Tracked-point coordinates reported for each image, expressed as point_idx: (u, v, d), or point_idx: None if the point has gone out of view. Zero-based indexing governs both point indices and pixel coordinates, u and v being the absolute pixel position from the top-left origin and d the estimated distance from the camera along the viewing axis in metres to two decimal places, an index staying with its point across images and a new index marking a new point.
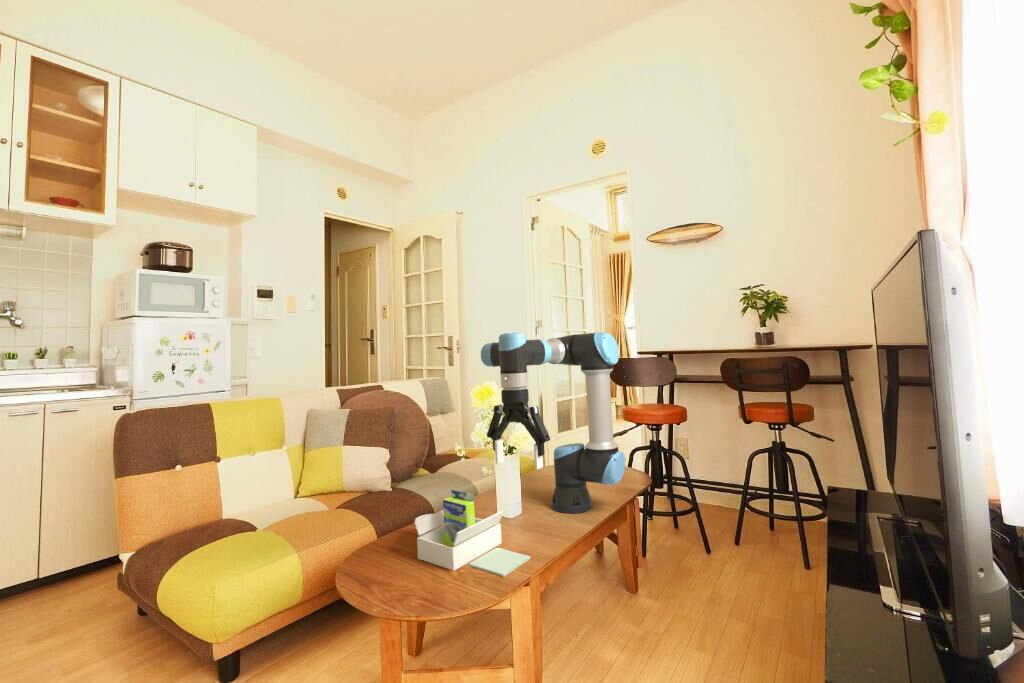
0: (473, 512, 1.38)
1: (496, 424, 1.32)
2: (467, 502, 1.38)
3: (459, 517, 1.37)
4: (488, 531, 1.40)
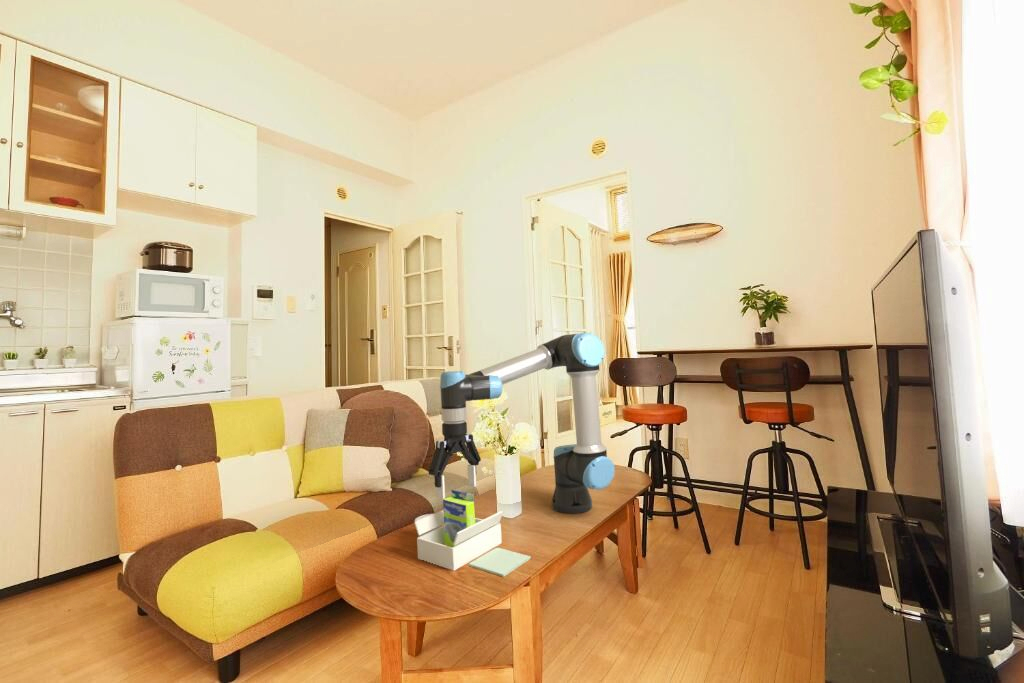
0: (473, 512, 1.38)
1: (472, 451, 1.47)
2: (467, 502, 1.38)
3: (459, 517, 1.38)
4: (488, 531, 1.40)
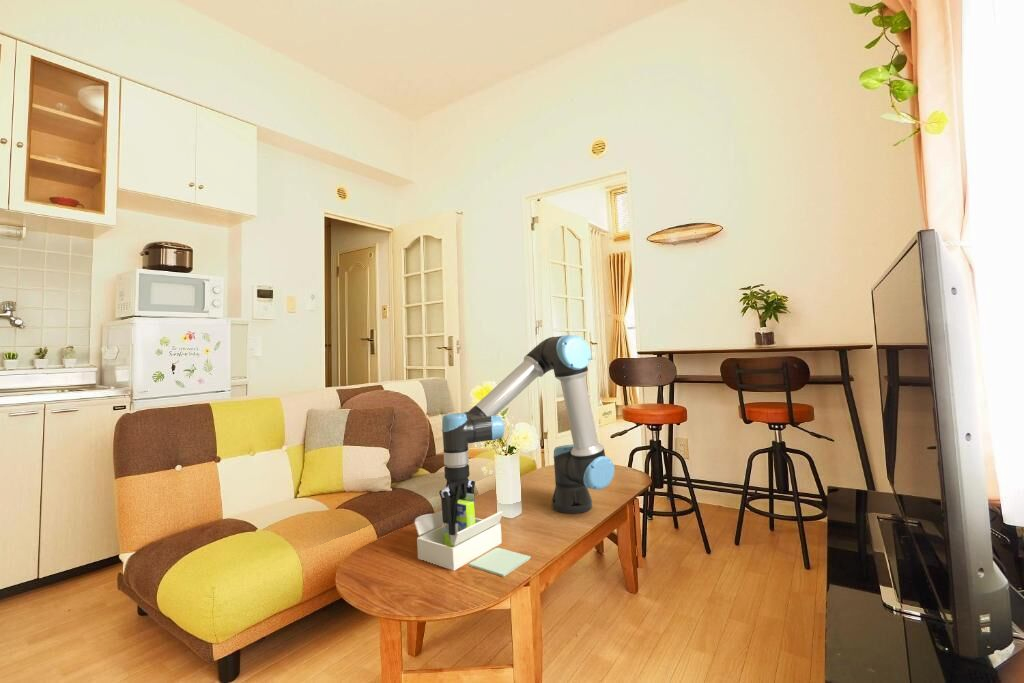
0: (473, 512, 1.38)
1: None
2: (467, 502, 1.38)
3: (459, 517, 1.38)
4: (488, 531, 1.40)
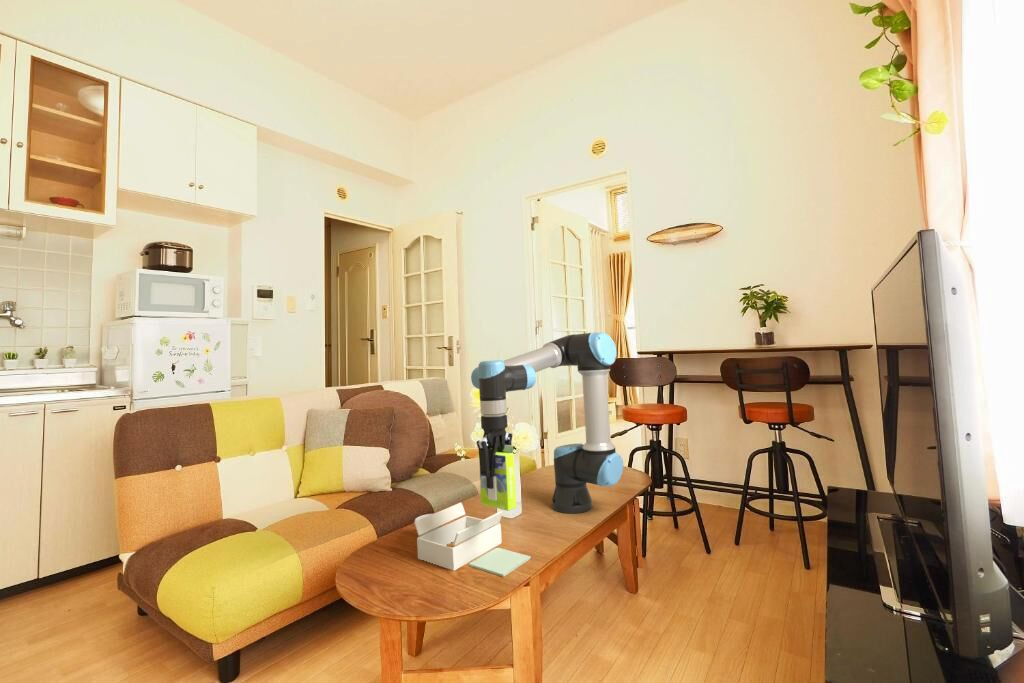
0: (513, 464, 1.29)
1: None
2: (506, 453, 1.29)
3: (498, 469, 1.28)
4: (488, 531, 1.40)
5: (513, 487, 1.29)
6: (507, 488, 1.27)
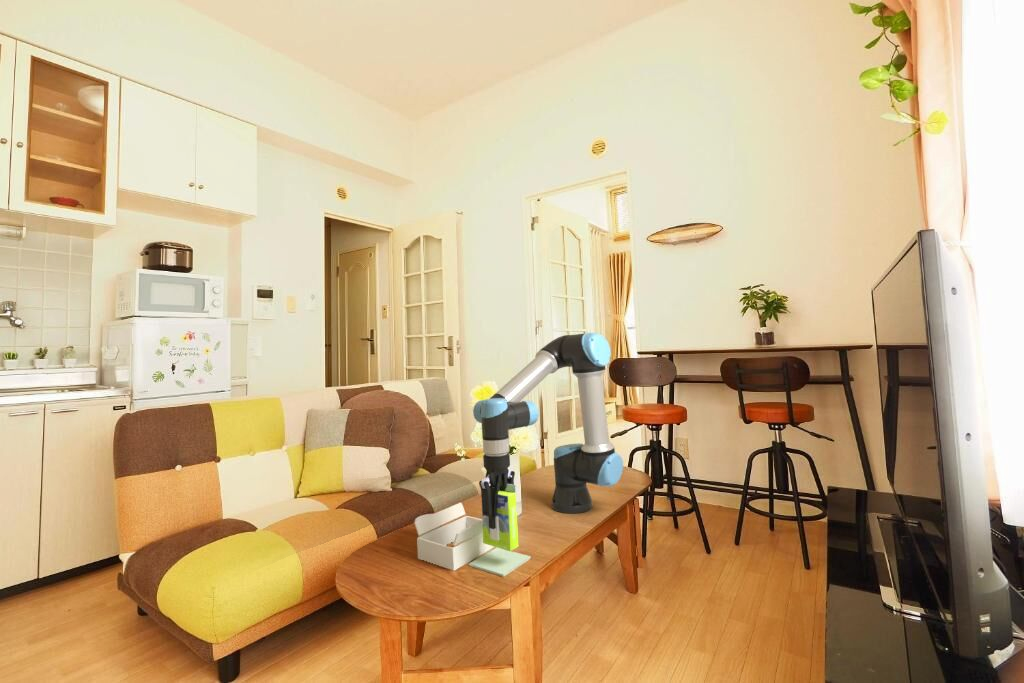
0: (515, 504, 1.29)
1: None
2: (509, 493, 1.29)
3: (500, 509, 1.28)
4: None
5: (515, 527, 1.28)
6: (509, 528, 1.26)
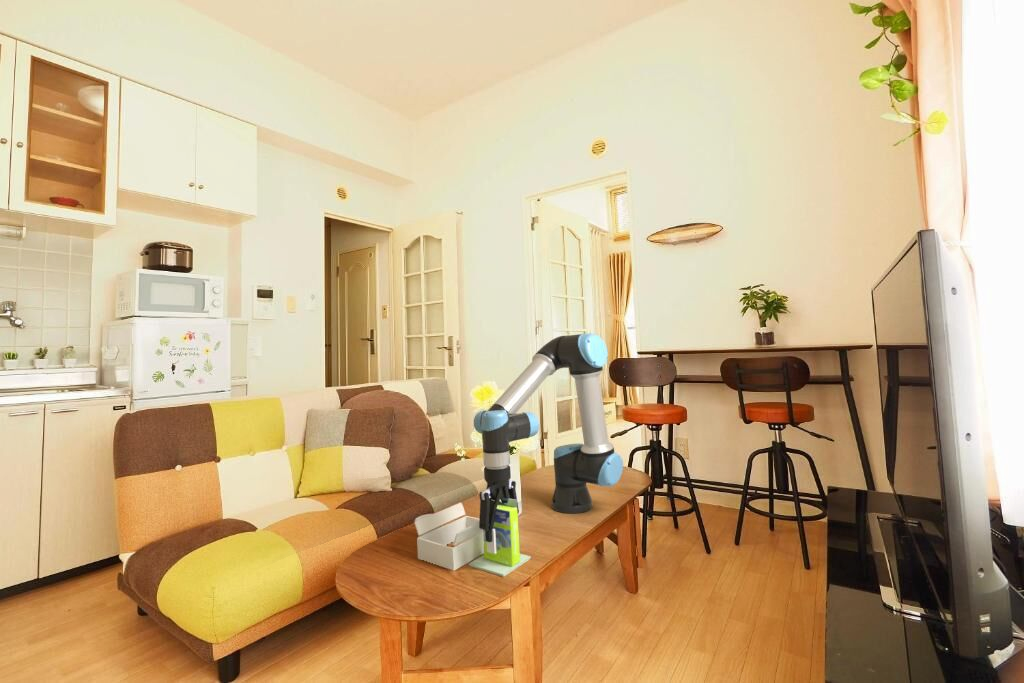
0: (516, 519, 1.29)
1: None
2: (510, 508, 1.29)
3: (502, 524, 1.28)
4: None
5: (517, 542, 1.28)
6: (511, 543, 1.27)
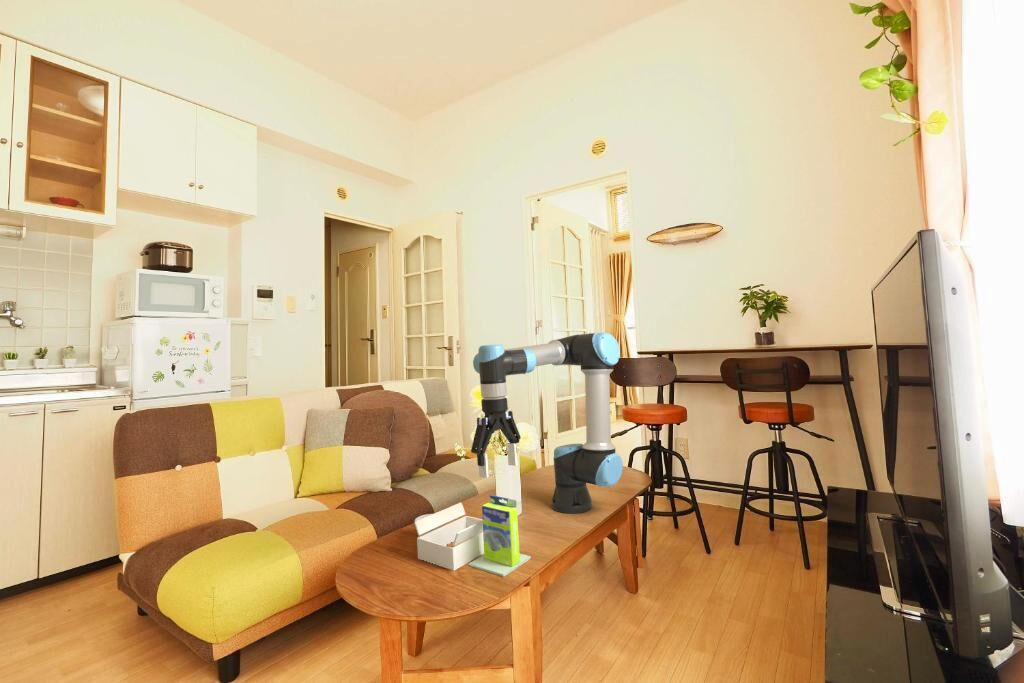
0: (516, 519, 1.29)
1: (511, 428, 1.40)
2: (510, 508, 1.29)
3: (502, 525, 1.28)
4: None
5: (517, 542, 1.28)
6: (511, 544, 1.27)
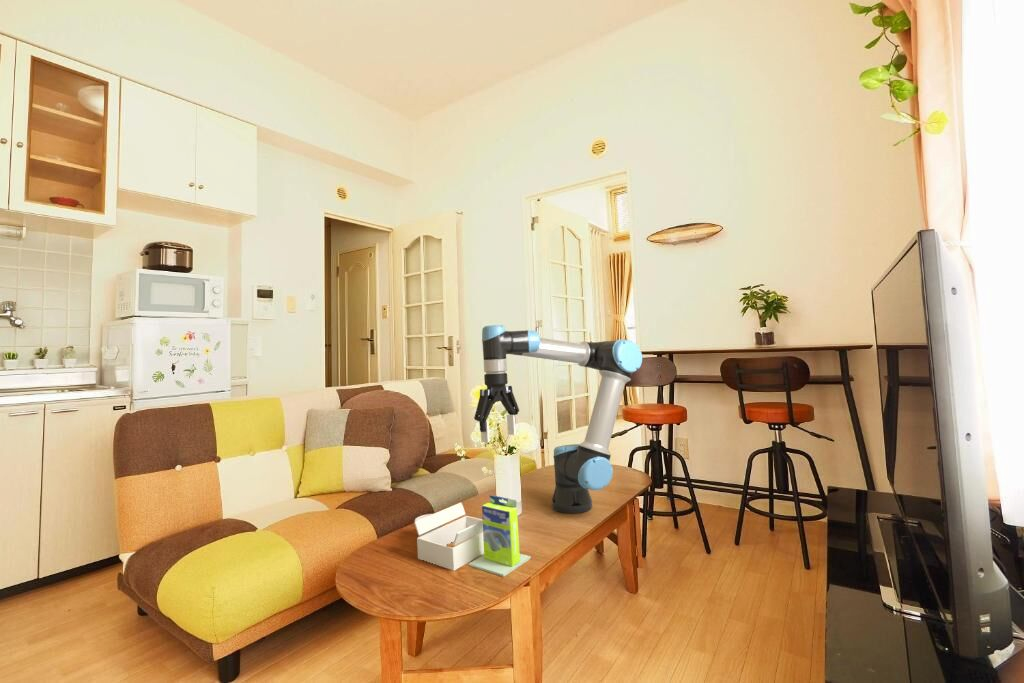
0: (516, 519, 1.29)
1: (511, 401, 1.56)
2: (510, 508, 1.29)
3: (501, 525, 1.28)
4: None
5: (517, 542, 1.28)
6: (511, 544, 1.27)
